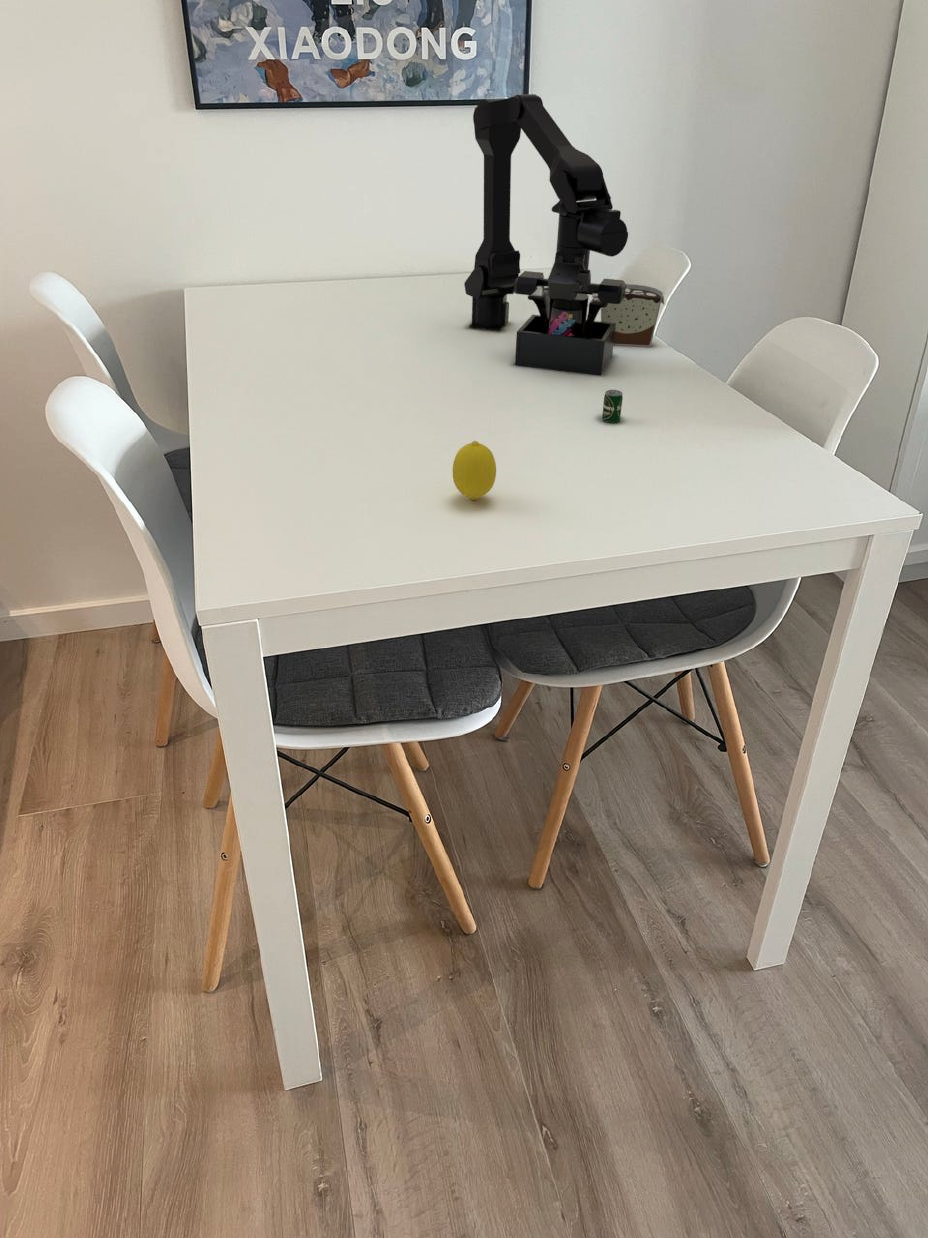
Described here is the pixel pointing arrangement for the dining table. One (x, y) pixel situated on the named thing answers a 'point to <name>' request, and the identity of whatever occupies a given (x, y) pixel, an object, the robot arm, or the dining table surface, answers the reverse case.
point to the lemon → (474, 470)
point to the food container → (634, 315)
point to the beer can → (612, 406)
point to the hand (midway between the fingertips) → (566, 336)
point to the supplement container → (568, 316)
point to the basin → (565, 348)
